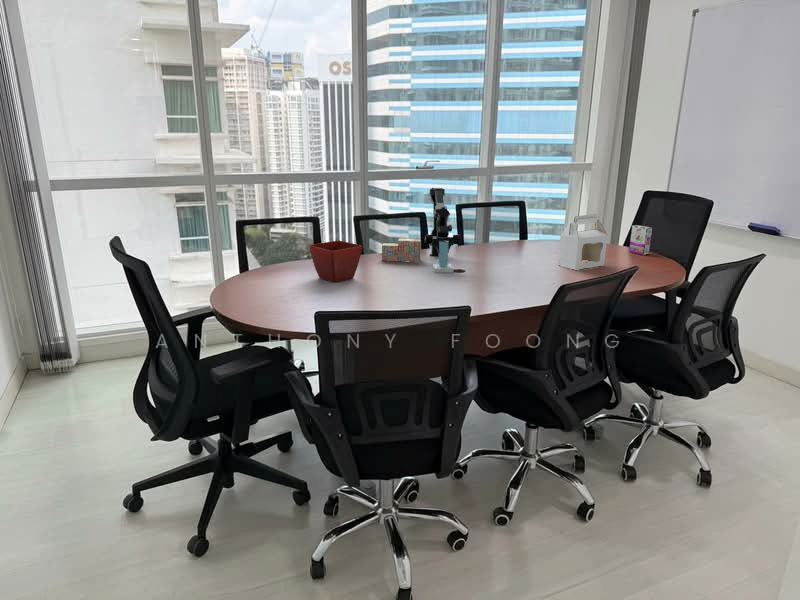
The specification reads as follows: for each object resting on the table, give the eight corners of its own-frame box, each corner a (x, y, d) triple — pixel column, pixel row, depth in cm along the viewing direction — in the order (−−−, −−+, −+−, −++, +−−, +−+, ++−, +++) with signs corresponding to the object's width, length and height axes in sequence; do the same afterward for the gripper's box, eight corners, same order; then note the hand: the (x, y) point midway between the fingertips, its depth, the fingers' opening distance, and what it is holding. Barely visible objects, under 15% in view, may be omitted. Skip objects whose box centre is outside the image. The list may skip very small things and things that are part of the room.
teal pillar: (438, 263, 306) (438, 241, 302) (446, 263, 306) (447, 241, 302) (439, 265, 301) (439, 243, 298) (447, 265, 301) (448, 243, 298)
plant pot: (339, 271, 300) (338, 239, 295) (363, 278, 287) (363, 245, 282) (309, 277, 287) (308, 244, 282) (333, 285, 274) (332, 251, 269)
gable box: (574, 271, 304) (580, 218, 296) (556, 265, 315) (561, 215, 307) (604, 266, 315) (610, 215, 306) (585, 261, 326) (591, 212, 317)
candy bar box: (649, 254, 342) (653, 227, 337) (643, 255, 340) (647, 228, 335) (634, 251, 352) (637, 224, 347) (628, 251, 349) (631, 225, 344)
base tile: (432, 267, 309) (432, 263, 308) (451, 267, 309) (451, 263, 309) (434, 272, 299) (434, 268, 299) (453, 272, 300) (453, 268, 299)
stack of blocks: (381, 261, 322) (381, 240, 318) (383, 259, 327) (383, 237, 324) (419, 262, 320) (420, 241, 316) (420, 260, 325) (420, 238, 322)
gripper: (425, 219, 300) (427, 244, 293) (461, 219, 300) (463, 244, 293) (424, 231, 310) (425, 256, 303) (458, 231, 310) (460, 256, 303)
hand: (443, 252), depth 300 cm, fingers closed on teal pillar, 4 cm apart
